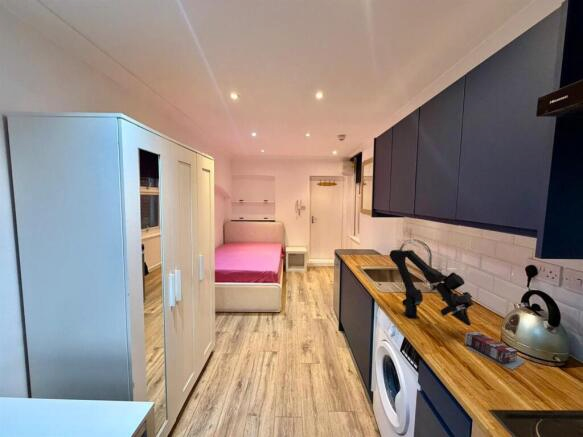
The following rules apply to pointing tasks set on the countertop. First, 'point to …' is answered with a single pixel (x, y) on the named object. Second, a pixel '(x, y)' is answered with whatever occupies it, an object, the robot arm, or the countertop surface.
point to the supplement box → (491, 347)
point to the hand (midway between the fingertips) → (469, 325)
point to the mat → (509, 365)
